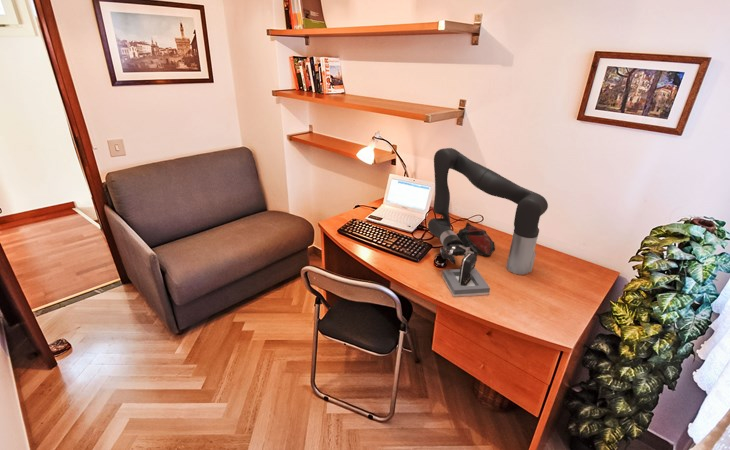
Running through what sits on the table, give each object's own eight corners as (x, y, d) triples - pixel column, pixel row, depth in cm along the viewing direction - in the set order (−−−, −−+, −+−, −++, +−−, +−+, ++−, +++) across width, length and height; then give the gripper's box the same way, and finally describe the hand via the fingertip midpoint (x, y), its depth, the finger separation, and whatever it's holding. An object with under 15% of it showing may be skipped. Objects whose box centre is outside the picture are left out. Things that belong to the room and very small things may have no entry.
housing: (474, 274, 152) (475, 268, 151) (488, 294, 139) (490, 288, 138) (442, 276, 150) (442, 270, 149) (453, 296, 138) (454, 290, 137)
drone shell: (459, 231, 189) (461, 217, 185) (498, 239, 181) (501, 225, 178) (448, 249, 172) (450, 233, 168) (491, 259, 164) (494, 243, 160)
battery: (466, 287, 141) (470, 262, 137) (457, 284, 144) (461, 259, 139) (473, 279, 147) (478, 255, 142) (464, 276, 149) (468, 252, 144)
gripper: (435, 235, 156) (448, 254, 141) (467, 233, 157) (483, 252, 143) (434, 250, 159) (446, 270, 144) (465, 248, 161) (480, 268, 146)
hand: (464, 261), depth 144 cm, fingers open, 8 cm apart
